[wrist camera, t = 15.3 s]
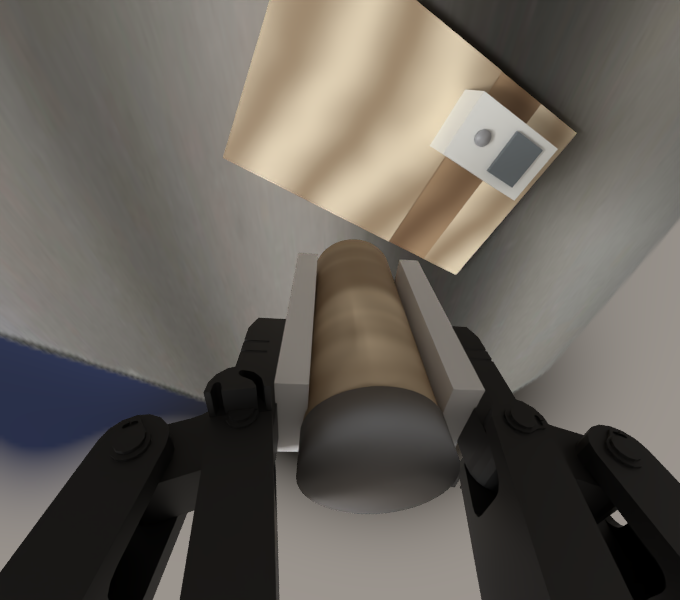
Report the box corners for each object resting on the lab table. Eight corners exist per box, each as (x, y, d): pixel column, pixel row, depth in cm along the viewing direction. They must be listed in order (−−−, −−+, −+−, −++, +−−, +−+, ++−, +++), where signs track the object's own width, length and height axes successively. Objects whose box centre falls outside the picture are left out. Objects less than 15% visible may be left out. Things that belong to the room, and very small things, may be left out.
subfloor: (226, 154, 24) (223, 157, 23) (299, -87, 17) (298, -97, 16) (452, 269, 31) (456, 275, 30) (567, 131, 24) (577, 133, 23)
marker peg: (314, 235, 13) (295, 426, 6) (395, 240, 13) (483, 430, 6) (312, 304, 15) (296, 514, 7) (383, 307, 15) (437, 514, 8)
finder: (429, 145, 23) (444, 154, 21) (465, 89, 21) (486, 91, 19) (495, 188, 26) (516, 201, 23) (533, 141, 24) (560, 149, 21)
